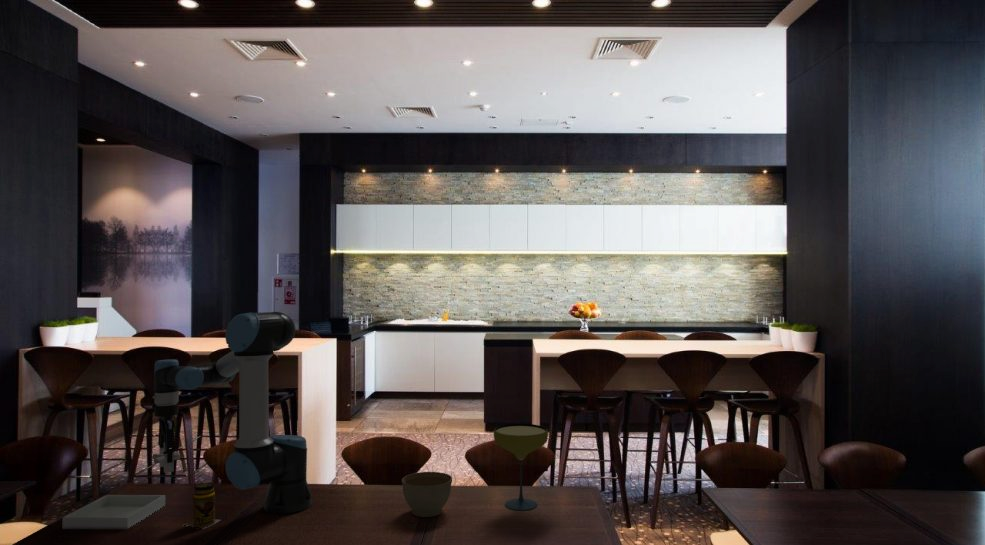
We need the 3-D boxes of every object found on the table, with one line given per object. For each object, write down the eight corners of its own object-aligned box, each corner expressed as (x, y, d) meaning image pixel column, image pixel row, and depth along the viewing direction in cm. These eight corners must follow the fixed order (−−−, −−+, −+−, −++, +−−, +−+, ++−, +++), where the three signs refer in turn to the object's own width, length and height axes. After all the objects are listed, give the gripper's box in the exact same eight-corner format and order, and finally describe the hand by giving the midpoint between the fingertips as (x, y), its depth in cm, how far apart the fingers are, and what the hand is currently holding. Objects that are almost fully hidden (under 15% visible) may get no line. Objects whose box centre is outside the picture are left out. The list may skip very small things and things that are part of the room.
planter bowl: (462, 511, 195) (462, 477, 195) (424, 526, 183) (424, 490, 184) (429, 500, 206) (429, 468, 206) (391, 513, 194) (391, 479, 195)
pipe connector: (168, 476, 205) (168, 446, 206) (143, 475, 207) (143, 445, 208) (188, 468, 215) (188, 439, 216) (164, 467, 217) (164, 439, 218)
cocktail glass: (533, 518, 189) (533, 438, 189) (484, 508, 198) (483, 431, 198) (557, 501, 204) (556, 426, 205) (510, 492, 213) (509, 421, 214)
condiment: (204, 529, 181) (204, 489, 182) (181, 526, 184) (182, 486, 184) (221, 520, 188) (222, 481, 189) (200, 517, 191) (200, 479, 191)
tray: (165, 505, 202) (165, 495, 202) (127, 529, 182) (127, 517, 182) (106, 505, 202) (106, 494, 202) (62, 529, 182) (62, 517, 182)
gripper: (149, 401, 218) (149, 464, 217) (160, 409, 201) (160, 478, 201) (172, 399, 223) (172, 460, 222) (185, 406, 206) (185, 473, 205)
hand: (166, 469), depth 211 cm, fingers closed on pipe connector, 9 cm apart
